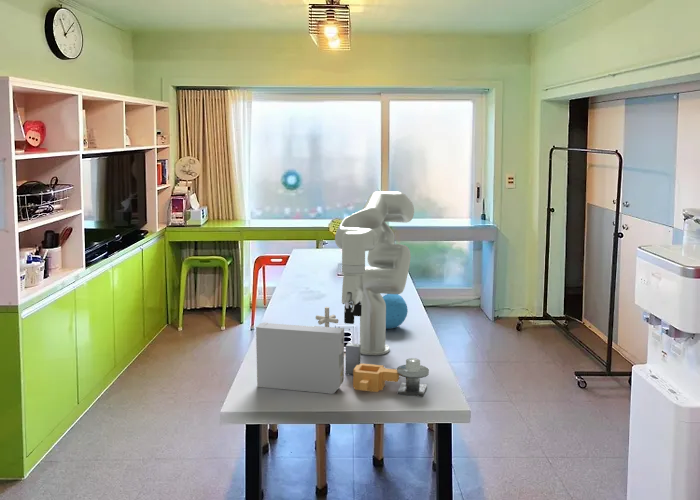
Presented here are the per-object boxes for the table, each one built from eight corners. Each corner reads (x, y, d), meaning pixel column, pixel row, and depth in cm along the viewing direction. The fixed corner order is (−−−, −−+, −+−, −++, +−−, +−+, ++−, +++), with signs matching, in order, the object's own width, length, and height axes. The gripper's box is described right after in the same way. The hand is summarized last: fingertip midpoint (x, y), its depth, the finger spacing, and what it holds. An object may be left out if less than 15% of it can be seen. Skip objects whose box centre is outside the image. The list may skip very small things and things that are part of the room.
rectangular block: (347, 371, 236) (347, 342, 234) (360, 372, 235) (360, 344, 233) (345, 374, 233) (345, 345, 231) (358, 375, 232) (358, 346, 230)
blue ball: (390, 319, 298) (390, 285, 295) (415, 330, 282) (416, 294, 279) (358, 324, 291) (358, 289, 288) (382, 336, 275) (383, 299, 272)
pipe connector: (330, 336, 274) (330, 312, 272) (309, 332, 279) (309, 308, 277) (344, 330, 282) (344, 306, 280) (324, 326, 287) (324, 303, 285)
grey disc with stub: (399, 383, 225) (400, 354, 223) (430, 386, 223) (431, 356, 221) (393, 395, 216) (394, 364, 214) (425, 398, 213) (426, 367, 211)
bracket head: (358, 380, 228) (358, 363, 226) (400, 384, 224) (401, 367, 223) (348, 394, 216) (348, 375, 215) (393, 398, 213) (393, 380, 211)
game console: (263, 380, 227) (261, 322, 224) (344, 387, 221) (344, 327, 218) (256, 387, 222) (255, 327, 218) (339, 394, 216) (340, 333, 212)
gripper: (349, 263, 237) (348, 312, 240) (335, 273, 220) (334, 325, 223) (370, 264, 235) (369, 313, 238) (358, 274, 218) (357, 327, 221)
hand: (353, 319), depth 230 cm, fingers open, 9 cm apart
